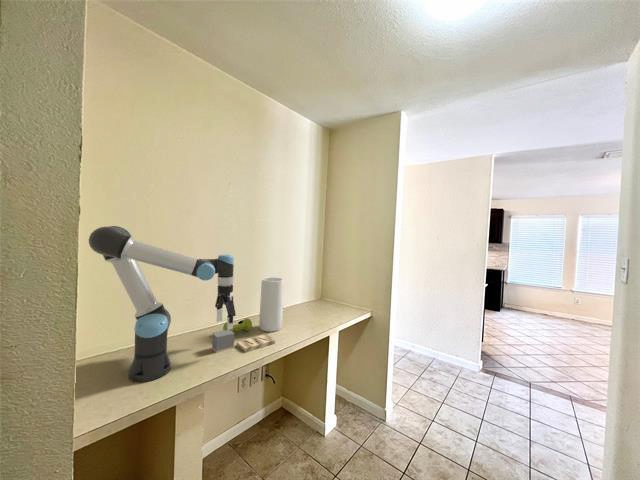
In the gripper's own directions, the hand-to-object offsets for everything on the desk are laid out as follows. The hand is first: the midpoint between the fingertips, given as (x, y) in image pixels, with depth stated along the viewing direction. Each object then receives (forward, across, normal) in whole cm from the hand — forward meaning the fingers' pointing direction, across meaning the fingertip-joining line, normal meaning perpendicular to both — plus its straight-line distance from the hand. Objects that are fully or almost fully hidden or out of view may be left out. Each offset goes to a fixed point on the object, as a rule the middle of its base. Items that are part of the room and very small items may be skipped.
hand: (224, 324), depth 137 cm
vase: (+13, +10, -34) cm, 38 cm away
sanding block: (+12, 0, 0) cm, 12 cm away
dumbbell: (+13, +15, -14) cm, 25 cm away
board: (+12, -6, -16) cm, 21 cm away
